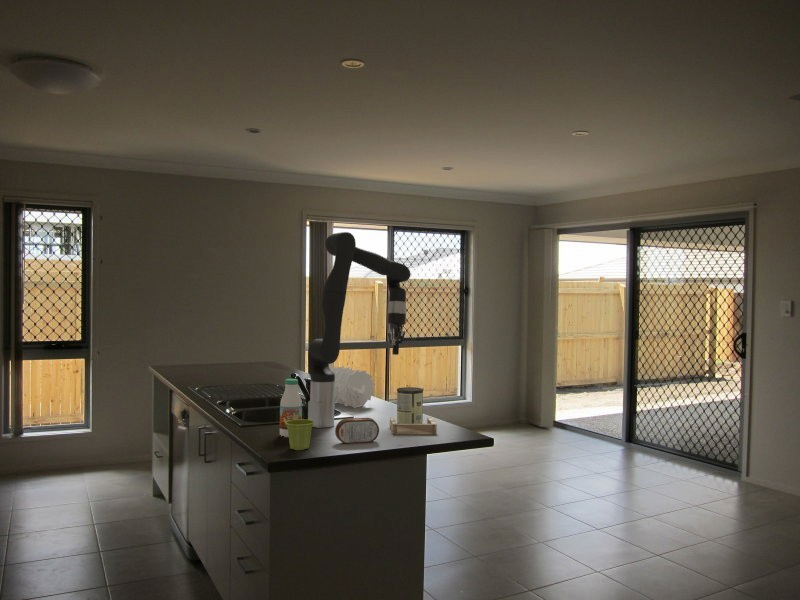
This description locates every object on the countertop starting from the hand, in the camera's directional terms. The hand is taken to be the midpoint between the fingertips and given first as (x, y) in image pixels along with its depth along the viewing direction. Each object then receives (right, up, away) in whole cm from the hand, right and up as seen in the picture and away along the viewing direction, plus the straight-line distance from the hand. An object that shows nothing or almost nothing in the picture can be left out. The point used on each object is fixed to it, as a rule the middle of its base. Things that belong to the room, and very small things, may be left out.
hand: (395, 354), depth 268 cm
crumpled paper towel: (-23, -26, +30) cm, 46 cm away
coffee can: (+6, -27, -14) cm, 31 cm away
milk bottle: (-37, -26, -38) cm, 59 cm away
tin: (-13, -26, -47) cm, 56 cm away
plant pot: (-31, -26, -57) cm, 70 cm away
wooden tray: (+7, -26, -25) cm, 37 cm away
